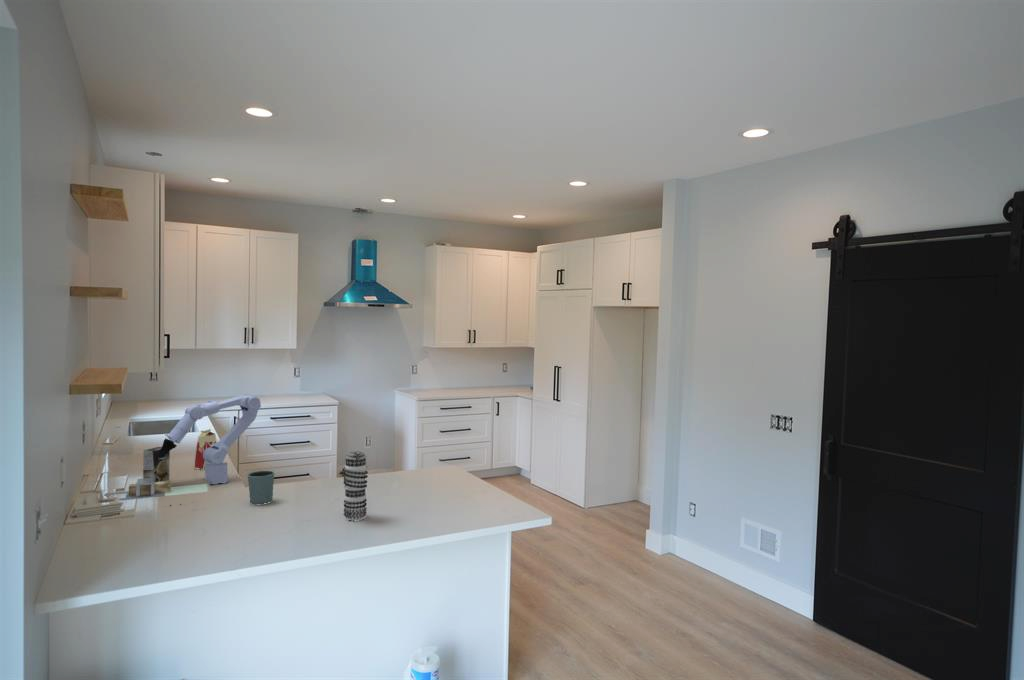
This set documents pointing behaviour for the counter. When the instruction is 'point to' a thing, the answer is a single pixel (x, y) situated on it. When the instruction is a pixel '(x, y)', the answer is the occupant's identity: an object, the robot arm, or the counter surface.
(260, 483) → the green cup
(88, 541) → the counter surface
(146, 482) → the tunnel
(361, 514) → the striped cylindrical tower
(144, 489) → the oak bar
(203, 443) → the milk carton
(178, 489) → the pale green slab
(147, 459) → the coffee box
